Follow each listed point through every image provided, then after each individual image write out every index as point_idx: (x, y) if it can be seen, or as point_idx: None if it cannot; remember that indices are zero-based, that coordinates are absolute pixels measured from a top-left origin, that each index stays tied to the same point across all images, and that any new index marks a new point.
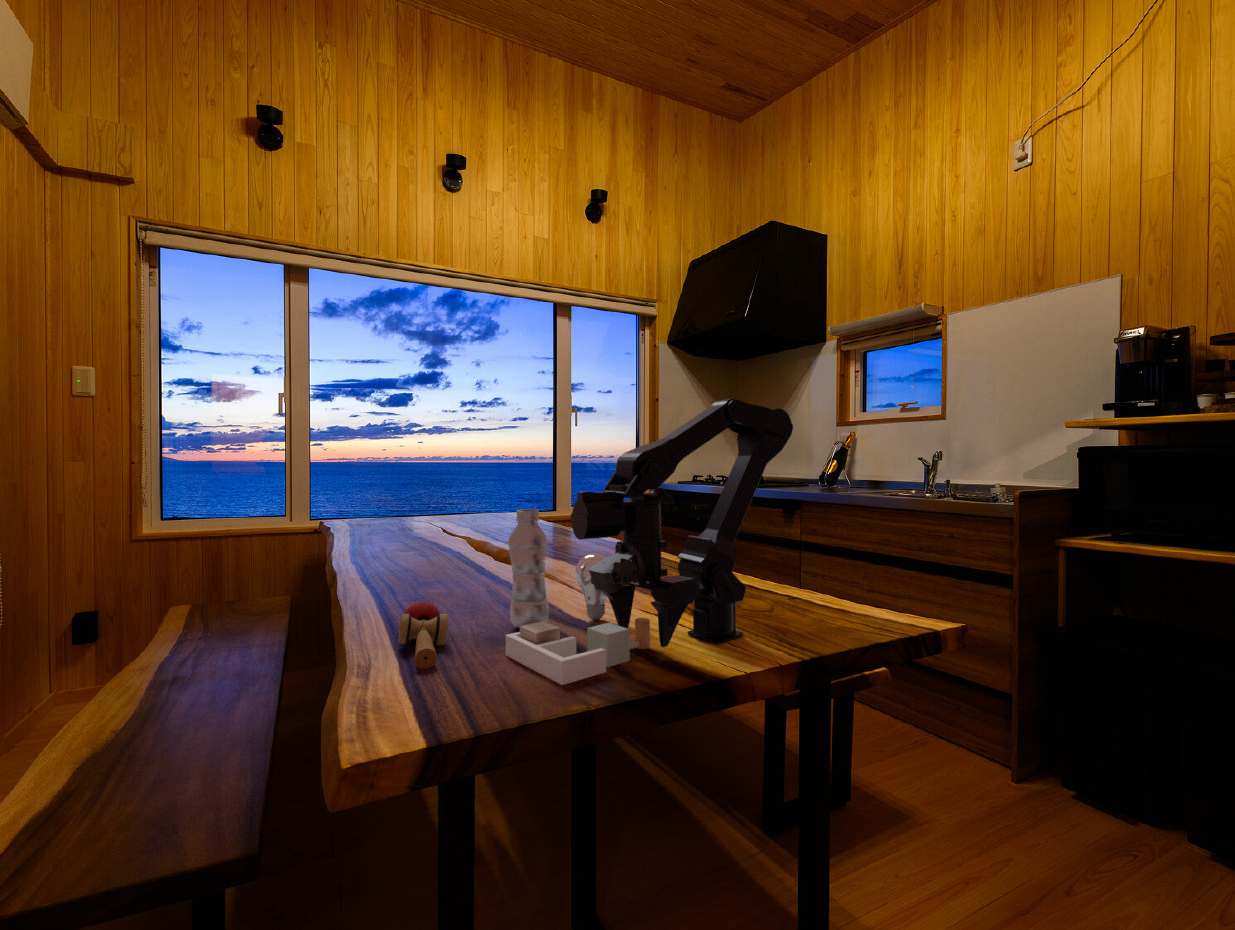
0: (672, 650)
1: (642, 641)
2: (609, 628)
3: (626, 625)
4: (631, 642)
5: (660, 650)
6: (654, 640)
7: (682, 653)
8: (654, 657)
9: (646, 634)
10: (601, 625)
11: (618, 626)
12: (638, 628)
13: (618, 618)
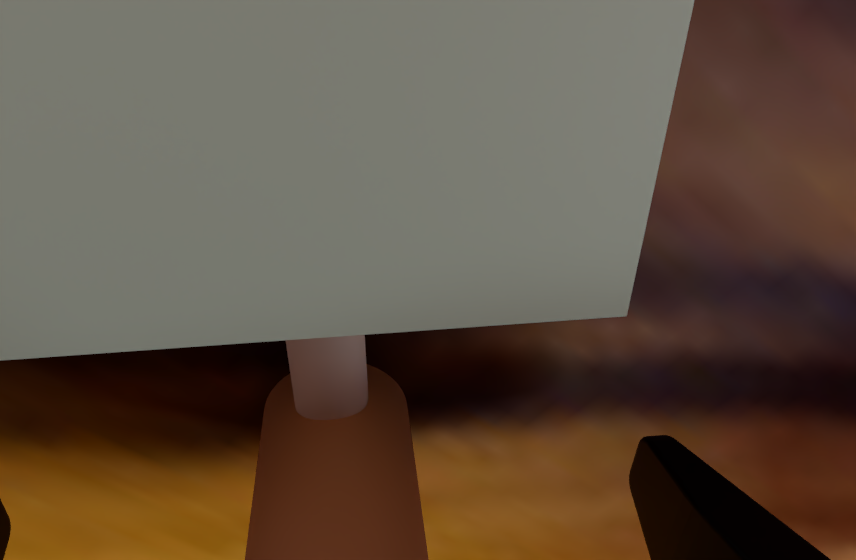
0: (165, 531)
1: (270, 437)
2: (228, 45)
3: (656, 532)
4: (310, 342)
5: (222, 477)
6: (454, 548)
7: (54, 546)
8: (73, 357)
9: (250, 531)
10: (604, 52)
11: (246, 309)
12: (302, 545)
13: (755, 553)
